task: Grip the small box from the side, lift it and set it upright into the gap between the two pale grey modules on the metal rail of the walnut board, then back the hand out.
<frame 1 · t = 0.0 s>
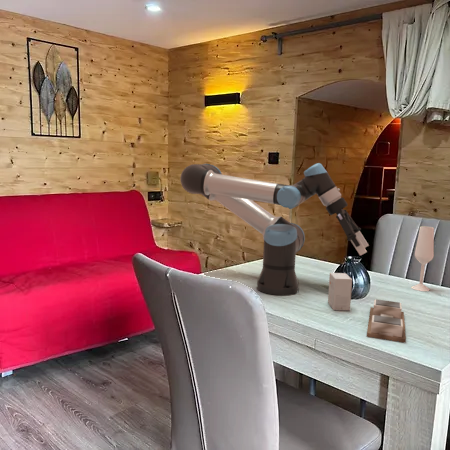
hand: (364, 250, 166), 15 cm above the table, tool tilted 35°, fingers open, 13 cm apart
small box: (338, 307, 149), on the table
champagne flute: (420, 289, 174), on the table
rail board: (386, 324, 133), on the table
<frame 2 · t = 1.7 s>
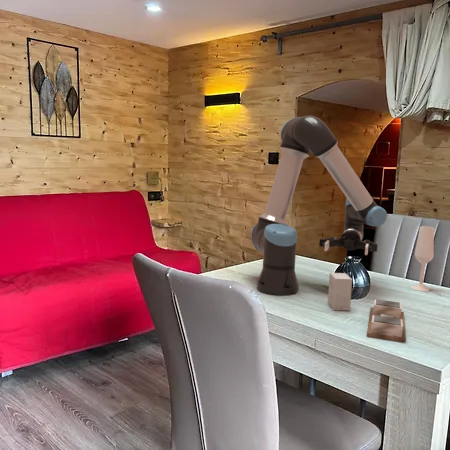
hand: (345, 249, 155), 18 cm above the table, tool horizontal, fingers open, 13 cm apart
nothing on the table moved.
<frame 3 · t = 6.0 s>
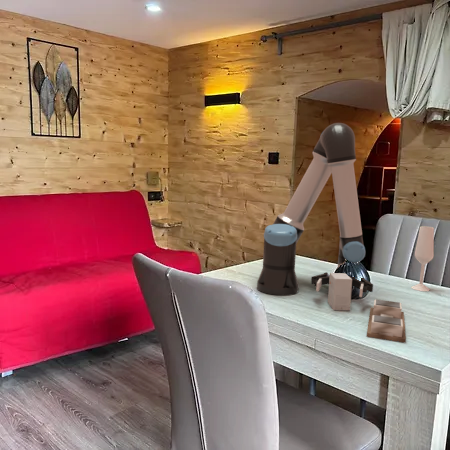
hand: (338, 290, 145), 6 cm above the table, tool horizontal, fingers open, 13 cm apart
nothing on the table moved.
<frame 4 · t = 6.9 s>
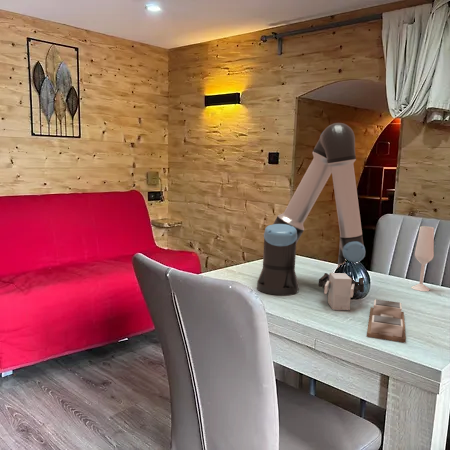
hand: (338, 291, 143), 6 cm above the table, tool horizontal, fingers closed on small box, 7 cm apart
small box: (338, 307, 149), on the table, touching gripper
everything else where it was.
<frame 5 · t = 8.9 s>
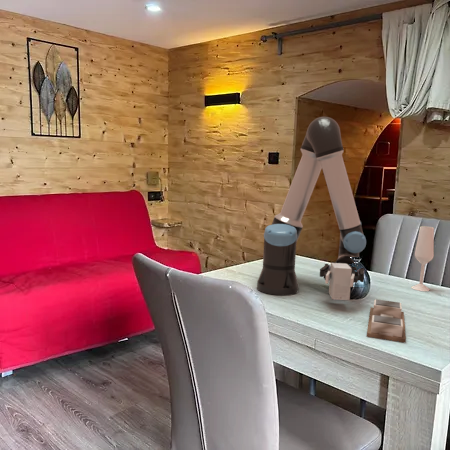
hand: (339, 281, 143), 10 cm above the table, tool horizontal, fingers closed on small box, 7 cm apart
small box: (338, 297, 148), point 3 cm above the table, touching gripper
everything else where it was.
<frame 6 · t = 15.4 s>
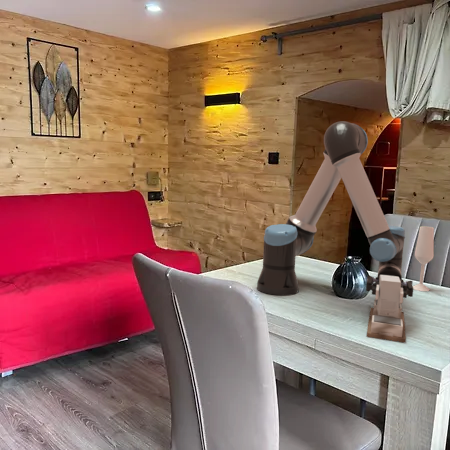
hand: (389, 296, 127), 10 cm above the table, tool horizontal, fingers closed on small box, 6 cm apart
small box: (386, 313, 133), point 3 cm above the table, touching gripper
everything else where it was.
when the fingers open (10 cm above the table, at t = 15.4 s): small box drops 2 cm, resting on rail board.
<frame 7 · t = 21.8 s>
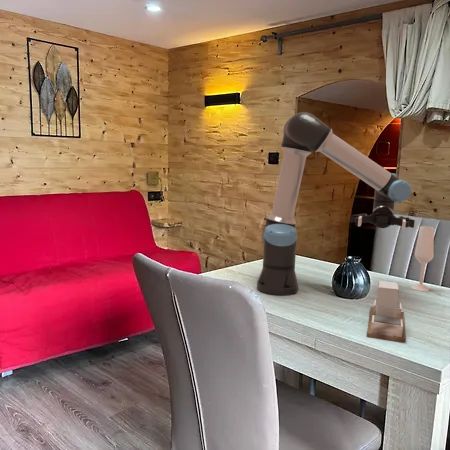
hand: (381, 224, 144), 28 cm above the table, tool horizontal, fingers open, 13 cm apart
small box: (385, 319, 134), point 1 cm above the table, touching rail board
everything else where it was.
at the end: small box 0.6 cm off-centre on the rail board, point 1.4 cm above the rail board's base; small box tilted 0°; the gripper is holding nothing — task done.
